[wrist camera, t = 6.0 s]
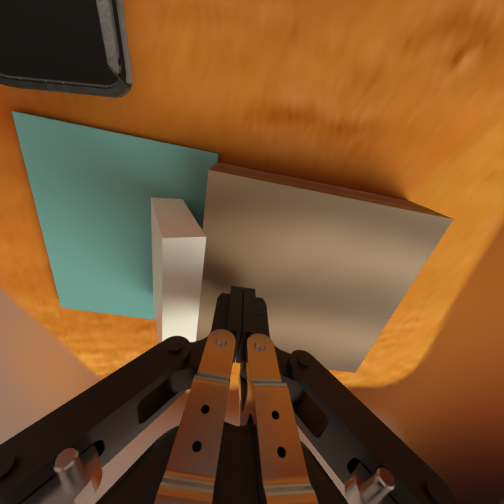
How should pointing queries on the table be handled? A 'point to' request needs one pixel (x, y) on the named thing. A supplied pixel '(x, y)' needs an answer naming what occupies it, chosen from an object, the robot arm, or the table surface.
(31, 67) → the phone
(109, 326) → the table surface
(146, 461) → the robot arm
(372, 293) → the block
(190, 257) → the white rectangular block
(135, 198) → the mat
